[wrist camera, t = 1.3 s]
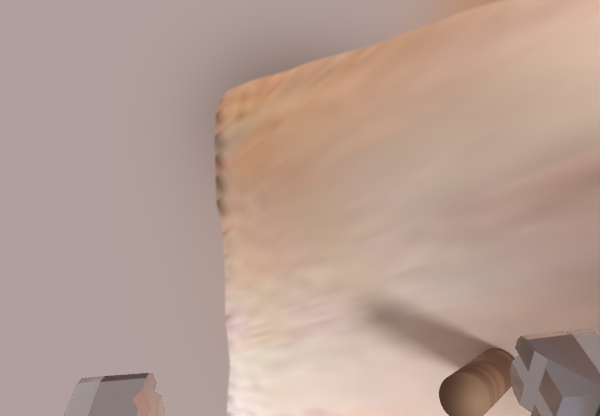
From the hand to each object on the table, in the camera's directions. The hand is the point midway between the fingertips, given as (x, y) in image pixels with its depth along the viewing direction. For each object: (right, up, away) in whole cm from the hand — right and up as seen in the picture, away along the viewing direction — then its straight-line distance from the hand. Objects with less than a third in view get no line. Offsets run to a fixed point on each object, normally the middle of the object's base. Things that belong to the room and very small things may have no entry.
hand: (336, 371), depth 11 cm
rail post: (+18, -12, +35) cm, 41 cm away
